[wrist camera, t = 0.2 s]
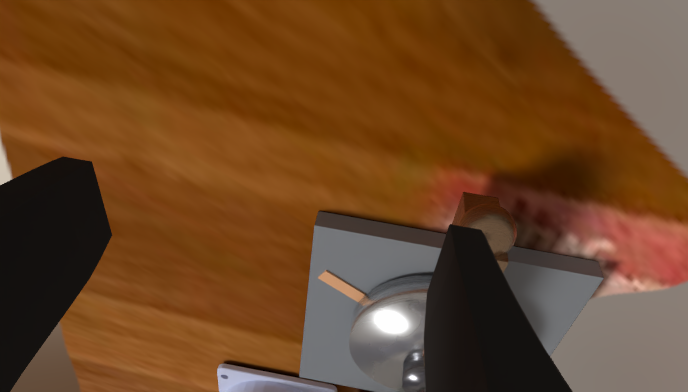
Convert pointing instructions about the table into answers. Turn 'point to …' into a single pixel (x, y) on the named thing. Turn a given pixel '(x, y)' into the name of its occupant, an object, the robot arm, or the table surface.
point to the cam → (416, 305)
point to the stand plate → (417, 260)
